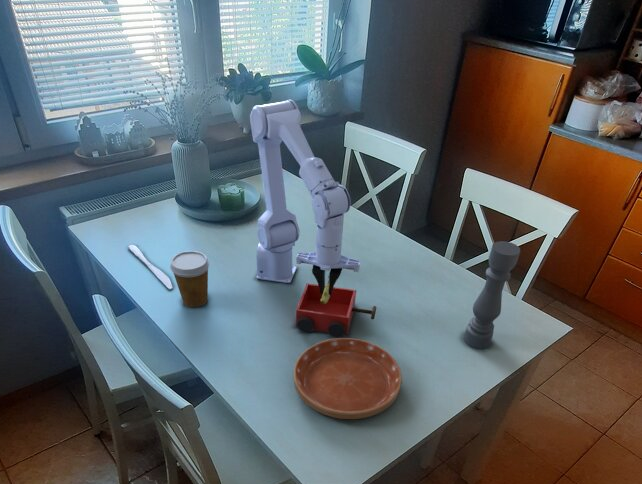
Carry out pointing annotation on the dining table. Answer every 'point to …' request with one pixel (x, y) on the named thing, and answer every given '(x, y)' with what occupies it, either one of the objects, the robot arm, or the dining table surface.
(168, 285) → the butter knife
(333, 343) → the saucer
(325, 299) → the banana
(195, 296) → the disposable coffee cup
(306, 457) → the dining table surface
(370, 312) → the cart wheels
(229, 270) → the dining table surface
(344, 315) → the cart
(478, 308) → the candle holder
